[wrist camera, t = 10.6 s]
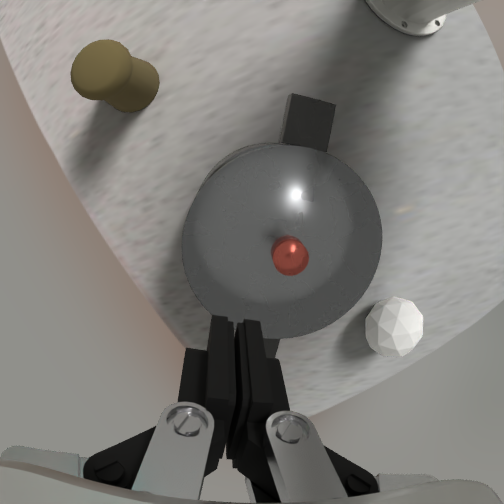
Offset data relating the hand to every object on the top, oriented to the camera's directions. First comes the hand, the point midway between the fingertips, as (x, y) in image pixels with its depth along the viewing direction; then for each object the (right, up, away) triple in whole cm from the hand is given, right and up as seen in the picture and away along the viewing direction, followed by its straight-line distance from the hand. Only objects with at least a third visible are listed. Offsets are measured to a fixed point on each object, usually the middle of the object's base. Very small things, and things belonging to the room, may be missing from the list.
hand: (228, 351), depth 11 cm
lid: (+3, +4, +15) cm, 16 cm away
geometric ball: (+18, -5, +30) cm, 35 cm away
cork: (-12, +21, +18) cm, 30 cm away
